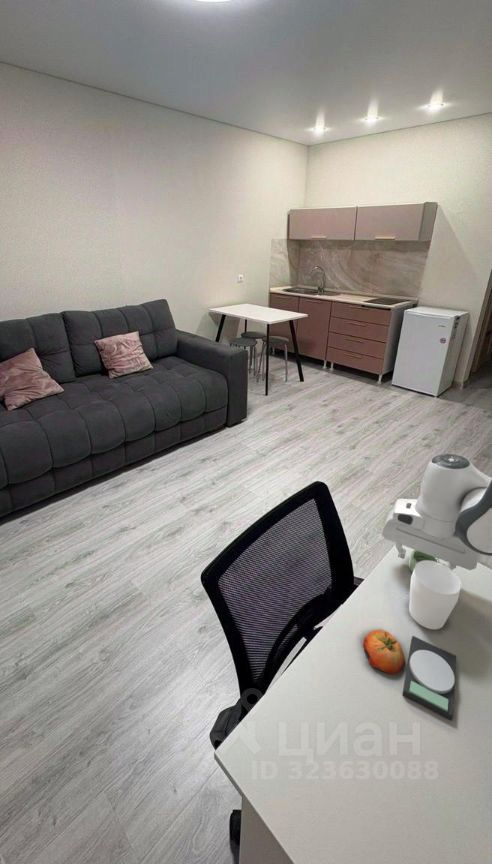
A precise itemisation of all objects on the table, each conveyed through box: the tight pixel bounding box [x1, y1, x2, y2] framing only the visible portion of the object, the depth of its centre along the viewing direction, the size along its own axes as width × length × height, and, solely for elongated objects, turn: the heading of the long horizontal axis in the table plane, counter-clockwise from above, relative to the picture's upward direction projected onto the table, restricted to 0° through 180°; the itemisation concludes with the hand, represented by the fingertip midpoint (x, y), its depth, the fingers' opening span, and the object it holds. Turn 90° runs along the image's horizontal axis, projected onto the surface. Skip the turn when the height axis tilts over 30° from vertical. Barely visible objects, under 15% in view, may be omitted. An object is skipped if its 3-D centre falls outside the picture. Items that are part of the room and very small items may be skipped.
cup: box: [408, 560, 462, 630], centre depth 85 cm, size 9×9×12 cm
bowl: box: [408, 549, 441, 574], centre depth 98 cm, size 6×6×4 cm
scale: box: [401, 635, 457, 722], centre depth 75 cm, size 12×8×3 cm, turn 149°
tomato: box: [362, 629, 406, 675], centre depth 79 cm, size 8×7×7 cm
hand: (422, 564), depth 98 cm, fingers open, 8 cm apart
